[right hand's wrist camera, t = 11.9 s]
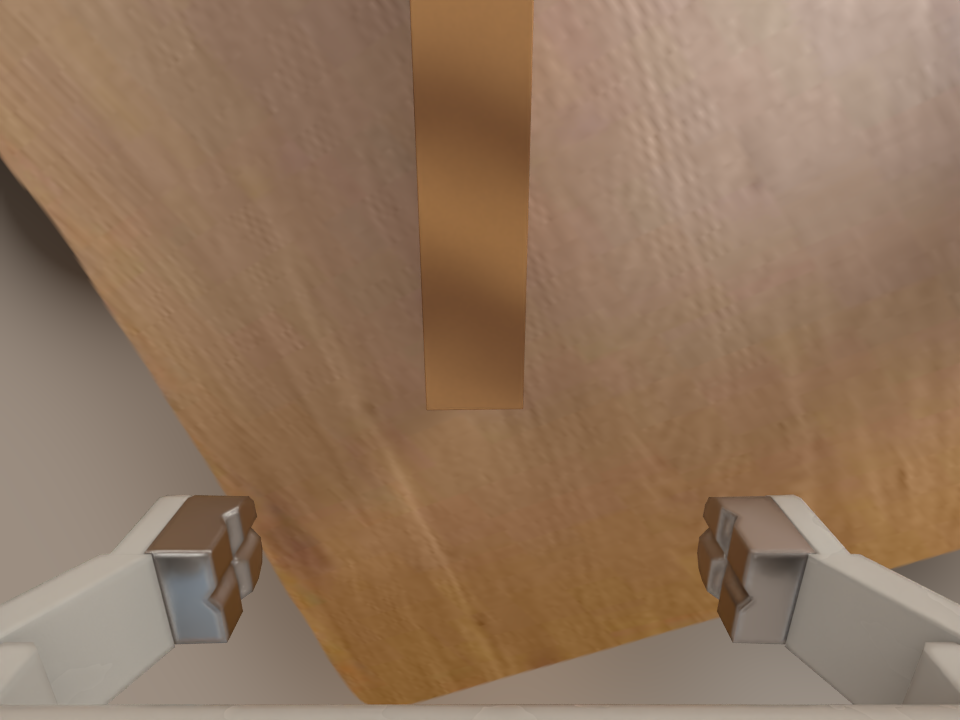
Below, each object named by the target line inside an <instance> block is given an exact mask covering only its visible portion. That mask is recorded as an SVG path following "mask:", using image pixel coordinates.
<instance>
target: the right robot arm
mask: <svg viewBox="0 0 960 720" xmlns="http://www.w3.org/2000/svg"><path fill="white" fill-rule="evenodd" d="M256 517H257V514H256V509H255V504H254V501H253V500H252V499H251V498H250V497H249V496H208V495H194V496H192V495H166V496H163V497H160V498H159V499H158V500H157V501H156V502H155V503H154V504H153V506H152V507H151V508H150V509H149V510H148V511H147V512H146V513H145V515H144V516H143V517H142V518H141V519H140V520H139V521H138V522H137V524H136V525H135V526H134V527H133V528H132V529H131V530H130V532H129V533H128V534H127V535H126V536H125V537H124V538H123V539H122V541H121V542H120V543H119V544H118V545H117V546H116V547H115V549H114V550H113V551H112V552H111V553H110V554H100V555H98V556H96V557H94V558H92V559H90V560H88V561H86V562H84V563H82V564H80V565H78V566H76V567H74V568H72V569H70V570H68V571H66V572H64V573H62V574H60V575H58V576H56V577H54V578H52V579H50V580H48V581H46V582H44V583H42V584H40V585H38V586H36V587H34V588H32V589H30V590H28V591H26V592H24V593H22V594H20V595H18V596H16V597H14V598H12V599H10V600H8V601H6V602H5V603H2V604H1V605H0V720H960V605H959V604H957V603H955V602H953V601H951V600H949V599H947V598H945V597H943V596H941V595H939V594H937V593H935V592H934V591H932V590H929V589H928V588H926V587H924V586H922V585H920V584H918V583H916V582H914V581H912V580H910V579H908V578H906V577H904V576H902V575H900V574H898V573H896V572H894V571H892V570H890V569H888V568H886V567H884V566H882V565H880V564H878V563H876V562H874V561H872V560H870V559H868V558H866V557H864V556H862V555H860V554H850V553H849V552H848V551H847V550H846V549H845V547H844V546H843V545H842V544H841V543H840V542H839V541H838V539H837V538H836V537H835V536H834V535H833V534H832V533H831V532H830V530H829V529H828V528H827V527H826V526H825V525H824V524H823V522H822V521H821V520H820V519H819V518H818V517H817V516H816V515H815V513H814V512H813V511H812V510H811V509H810V508H809V507H808V506H807V504H806V503H805V502H804V501H803V500H802V499H801V498H800V497H798V496H795V495H770V496H749V497H709V498H708V500H707V502H706V504H705V508H704V514H703V517H704V519H705V521H706V523H707V525H708V526H709V528H708V529H707V530H706V531H705V532H704V533H703V534H702V535H701V536H700V537H699V544H698V552H697V554H698V566H699V571H700V575H701V578H702V581H703V583H704V585H705V588H706V590H707V592H709V593H710V594H712V595H713V596H715V597H716V598H717V599H719V604H718V609H717V612H718V614H719V616H720V618H721V620H722V622H723V624H724V626H725V628H726V630H727V632H728V634H729V636H730V638H731V640H732V642H733V643H758V644H786V645H785V647H786V648H787V649H788V650H789V651H791V652H792V653H793V654H794V655H795V656H797V657H798V658H799V659H800V660H801V661H803V662H804V663H805V664H806V665H807V666H808V667H810V668H811V669H812V670H813V671H814V672H816V673H817V674H818V675H819V676H820V677H821V678H823V679H824V680H825V681H826V682H827V683H829V684H830V685H831V686H832V687H833V688H834V689H836V690H837V691H838V692H839V693H840V694H842V695H843V696H844V697H845V698H846V699H847V700H849V701H850V702H851V703H852V704H833V705H832V704H831V705H626V704H621V705H620V704H616V705H615V704H614V705H613V704H607V705H605V704H523V705H522V704H520V705H519V704H516V705H515V704H509V705H507V704H506V705H107V704H108V703H109V702H110V701H111V700H113V699H114V698H115V697H116V696H117V695H119V694H120V693H121V692H122V691H123V690H124V689H126V688H127V687H128V686H129V685H130V684H132V683H133V682H134V681H135V680H136V679H138V678H139V677H140V676H141V675H142V674H143V673H145V672H146V671H147V670H148V669H149V668H151V667H152V666H153V665H154V664H155V663H156V662H158V661H159V660H160V659H161V658H162V657H164V656H165V655H166V654H167V653H168V652H170V651H171V650H172V649H173V648H174V647H175V645H174V644H200V643H227V642H228V640H229V638H230V636H231V634H232V632H233V630H234V628H235V626H236V624H237V622H238V620H239V618H240V616H241V614H242V612H243V609H242V604H241V599H243V598H244V597H245V596H247V595H248V594H250V593H251V592H252V591H253V590H254V588H255V585H256V583H257V581H258V579H259V575H260V570H261V565H262V543H261V537H260V536H259V535H258V534H257V533H256V532H255V531H254V530H253V529H252V528H251V526H252V525H253V523H254V521H255V519H256Z"/></svg>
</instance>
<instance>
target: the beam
mask: <svg viewBox="0 0 960 720" xmlns="http://www.w3.org/2000/svg"><path fill="white" fill-rule="evenodd" d="M533 12H534V0H410V19H411V43H412V68H413V92H414V117H415V141H416V166H417V190H418V215H419V239H420V264H421V288H422V313H423V337H424V362H425V386H426V409H427V410H481V409H523V388H524V350H525V313H526V275H527V237H528V200H529V162H530V125H531V87H532V49H533Z"/></svg>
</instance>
